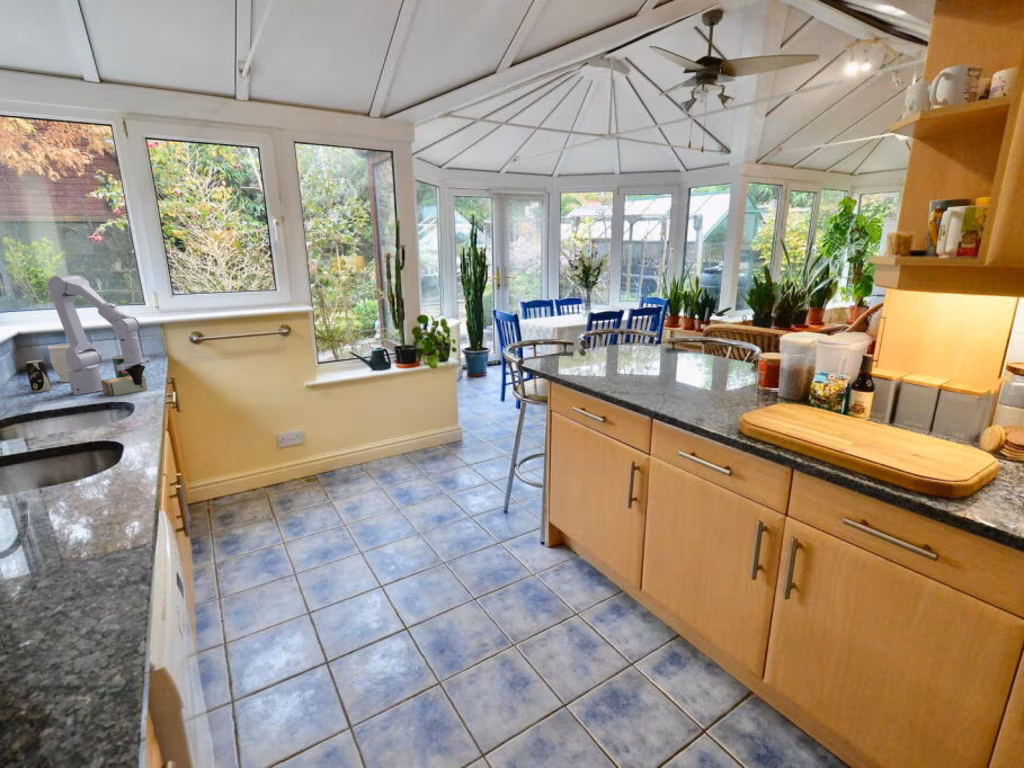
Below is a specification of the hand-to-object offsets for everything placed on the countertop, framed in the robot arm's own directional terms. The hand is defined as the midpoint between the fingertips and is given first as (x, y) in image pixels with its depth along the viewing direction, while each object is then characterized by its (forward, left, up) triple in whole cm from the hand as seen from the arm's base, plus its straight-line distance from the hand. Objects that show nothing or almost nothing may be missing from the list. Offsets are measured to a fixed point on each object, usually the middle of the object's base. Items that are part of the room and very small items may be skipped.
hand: (138, 384), depth 195 cm
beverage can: (-25, +32, -3) cm, 41 cm away
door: (-3, +2, -3) cm, 5 cm away
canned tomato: (+1, +21, -3) cm, 21 cm away
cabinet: (-3, +6, -3) cm, 7 cm away
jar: (-14, +45, -3) cm, 47 cm away
